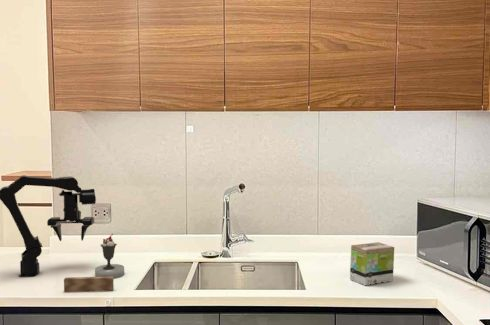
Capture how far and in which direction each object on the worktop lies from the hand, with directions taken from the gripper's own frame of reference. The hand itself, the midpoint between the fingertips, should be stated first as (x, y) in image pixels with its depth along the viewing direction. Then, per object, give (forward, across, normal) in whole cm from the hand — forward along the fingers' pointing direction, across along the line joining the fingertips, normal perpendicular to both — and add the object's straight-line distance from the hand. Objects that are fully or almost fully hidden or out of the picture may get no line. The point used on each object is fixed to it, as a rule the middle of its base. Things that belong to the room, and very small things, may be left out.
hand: (71, 240), depth 209 cm
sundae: (+10, -18, +9) cm, 22 cm away
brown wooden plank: (+13, -14, +29) cm, 35 cm away
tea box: (+13, -127, +25) cm, 130 cm away
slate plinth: (+13, -18, +9) cm, 24 cm away
